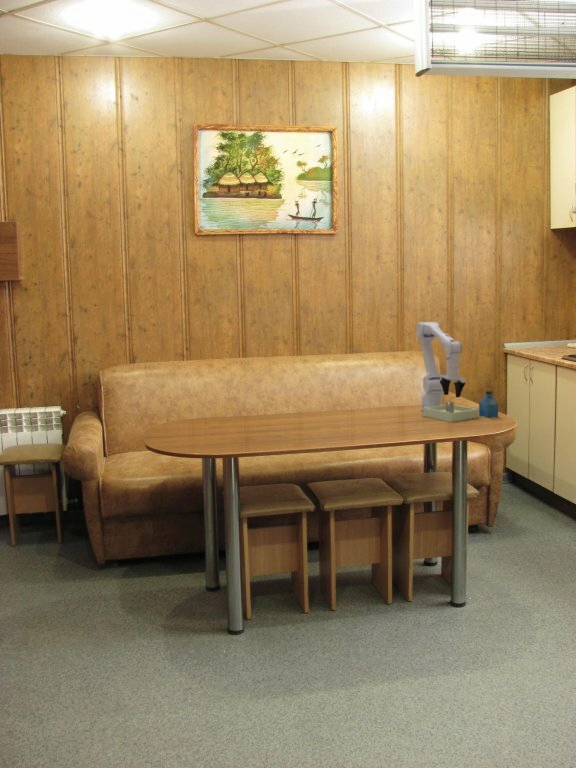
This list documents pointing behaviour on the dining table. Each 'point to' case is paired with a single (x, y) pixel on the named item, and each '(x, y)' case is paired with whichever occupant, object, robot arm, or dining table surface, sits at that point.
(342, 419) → the dining table surface
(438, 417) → the box
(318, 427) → the dining table surface
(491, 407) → the perfume bottle
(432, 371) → the robot arm
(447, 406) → the peg
